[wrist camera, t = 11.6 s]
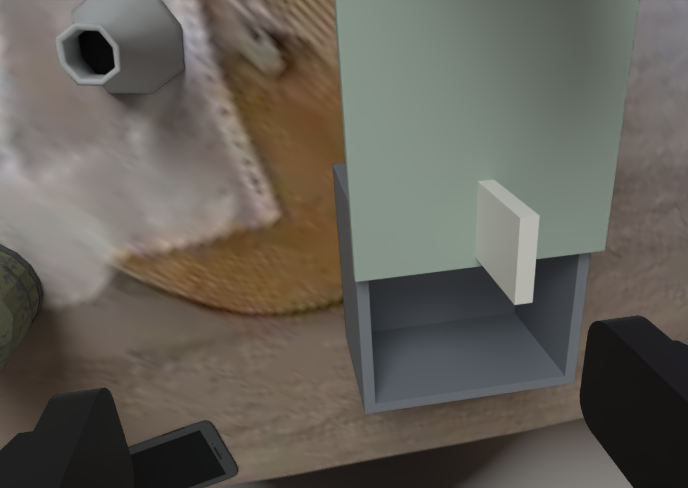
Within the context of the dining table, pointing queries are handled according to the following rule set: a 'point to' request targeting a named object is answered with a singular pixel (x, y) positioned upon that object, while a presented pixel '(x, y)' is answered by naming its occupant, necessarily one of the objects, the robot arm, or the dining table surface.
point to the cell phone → (183, 459)
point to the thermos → (16, 301)
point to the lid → (480, 132)
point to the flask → (122, 45)
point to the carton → (457, 328)
